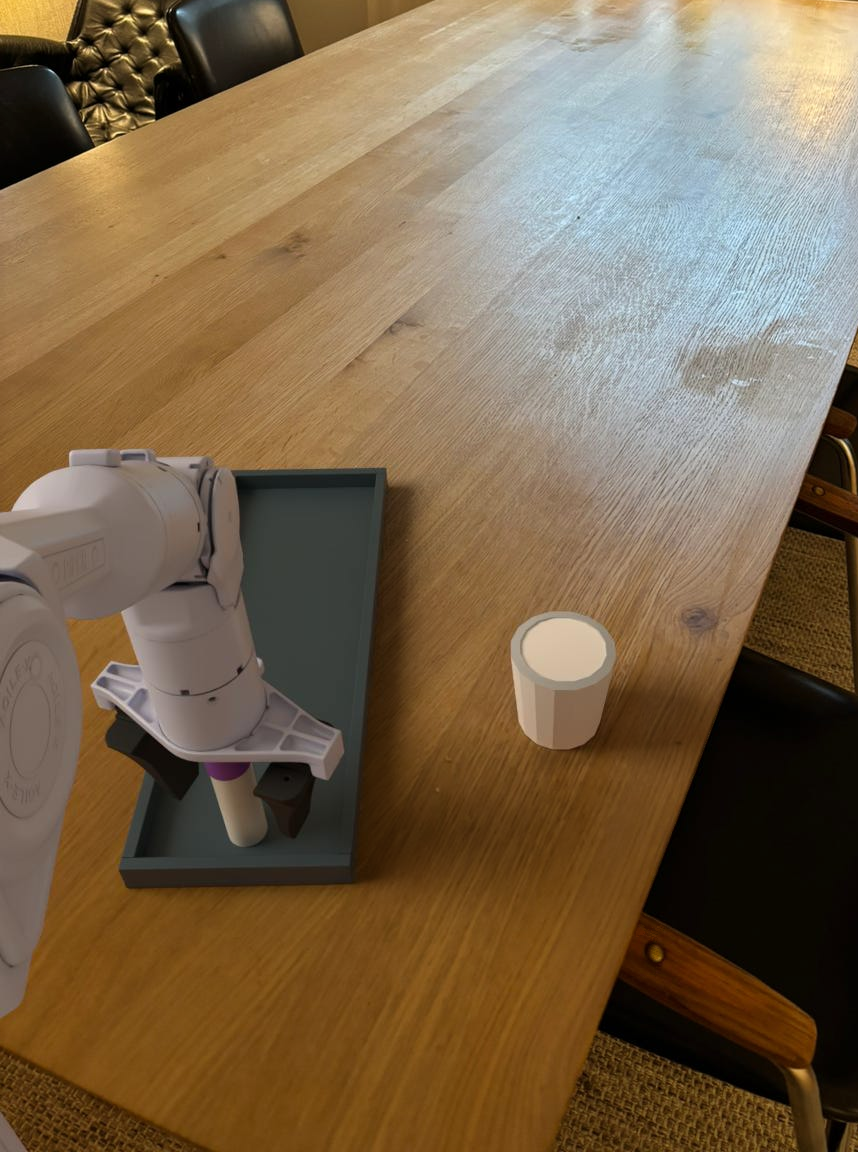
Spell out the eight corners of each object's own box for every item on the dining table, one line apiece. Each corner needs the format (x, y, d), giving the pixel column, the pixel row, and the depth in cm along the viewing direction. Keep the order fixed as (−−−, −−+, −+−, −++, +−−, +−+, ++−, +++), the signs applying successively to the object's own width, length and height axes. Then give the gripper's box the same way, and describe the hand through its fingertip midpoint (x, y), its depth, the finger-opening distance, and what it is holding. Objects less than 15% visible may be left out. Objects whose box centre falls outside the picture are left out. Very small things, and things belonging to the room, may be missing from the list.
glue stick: (256, 854, 62) (231, 765, 56) (218, 841, 63) (190, 752, 57) (276, 818, 64) (254, 729, 58) (240, 806, 65) (214, 717, 59)
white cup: (489, 726, 70) (489, 658, 65) (543, 663, 74) (546, 595, 70) (576, 774, 67) (582, 706, 62) (626, 705, 71) (635, 637, 67)
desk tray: (353, 884, 61) (350, 865, 60) (125, 888, 61) (117, 869, 60) (387, 486, 90) (386, 467, 88) (232, 488, 90) (228, 470, 88)
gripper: (358, 633, 54) (378, 785, 62) (124, 569, 57) (174, 720, 66) (294, 738, 49) (325, 886, 57) (42, 659, 52) (108, 810, 61)
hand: (240, 804), depth 62 cm, fingers open, 7 cm apart
